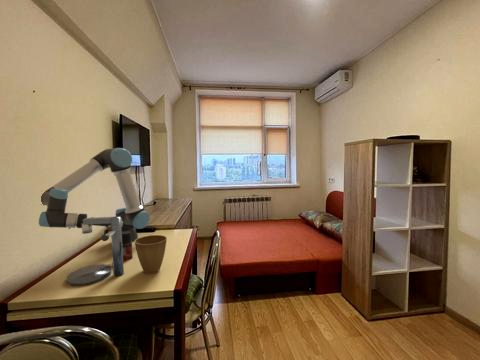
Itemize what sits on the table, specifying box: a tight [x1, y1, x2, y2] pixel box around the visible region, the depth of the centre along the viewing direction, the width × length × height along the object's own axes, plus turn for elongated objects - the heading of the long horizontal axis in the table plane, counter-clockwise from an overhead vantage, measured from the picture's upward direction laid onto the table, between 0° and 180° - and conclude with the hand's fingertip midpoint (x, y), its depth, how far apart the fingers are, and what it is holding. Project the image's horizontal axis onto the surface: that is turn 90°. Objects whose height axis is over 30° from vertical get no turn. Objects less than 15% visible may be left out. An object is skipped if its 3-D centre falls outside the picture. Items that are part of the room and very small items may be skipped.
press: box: [66, 215, 125, 287], centre depth 111 cm, size 28×19×28 cm
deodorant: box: [122, 231, 134, 262], centre depth 134 cm, size 6×6×15 cm
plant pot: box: [134, 234, 168, 275], centre depth 118 cm, size 15×15×16 cm
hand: (122, 222), depth 135 cm, fingers open, 13 cm apart
